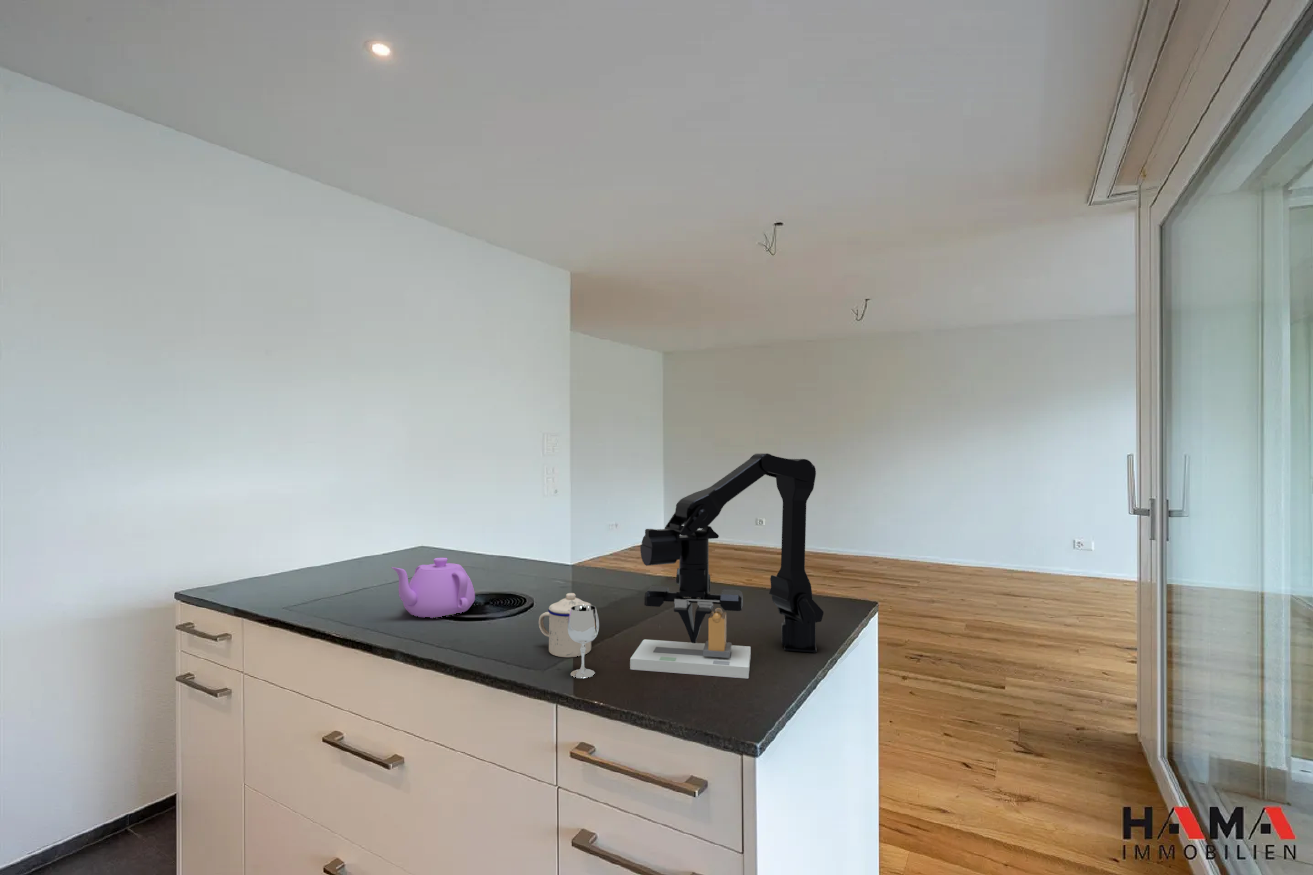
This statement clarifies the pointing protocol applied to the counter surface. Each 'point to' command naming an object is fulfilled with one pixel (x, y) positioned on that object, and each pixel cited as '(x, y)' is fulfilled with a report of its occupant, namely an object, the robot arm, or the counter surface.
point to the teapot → (436, 589)
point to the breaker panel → (689, 659)
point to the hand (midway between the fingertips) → (693, 642)
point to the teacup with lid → (562, 628)
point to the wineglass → (583, 632)
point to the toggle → (717, 636)
